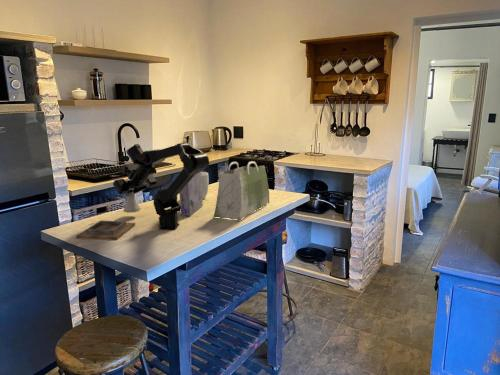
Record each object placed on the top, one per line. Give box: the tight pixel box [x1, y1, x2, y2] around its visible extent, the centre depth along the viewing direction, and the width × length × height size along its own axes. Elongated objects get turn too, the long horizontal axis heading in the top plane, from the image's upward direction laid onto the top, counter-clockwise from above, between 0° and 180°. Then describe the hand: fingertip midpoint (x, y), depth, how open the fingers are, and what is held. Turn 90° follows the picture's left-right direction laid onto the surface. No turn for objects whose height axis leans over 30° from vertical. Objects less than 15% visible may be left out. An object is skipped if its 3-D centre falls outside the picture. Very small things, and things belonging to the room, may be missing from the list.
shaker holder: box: [76, 220, 136, 240], centre depth 146 cm, size 16×16×2 cm
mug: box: [201, 171, 210, 200], centre depth 195 cm, size 15×11×13 cm
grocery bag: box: [213, 160, 270, 221], centre depth 170 cm, size 32×14×23 cm, turn 154°
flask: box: [123, 188, 142, 213], centre depth 163 cm, size 7×7×10 cm
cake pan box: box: [178, 171, 204, 217], centre depth 171 cm, size 19×5×18 cm, turn 168°
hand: (128, 194), depth 163 cm, fingers closed on flask, 3 cm apart
